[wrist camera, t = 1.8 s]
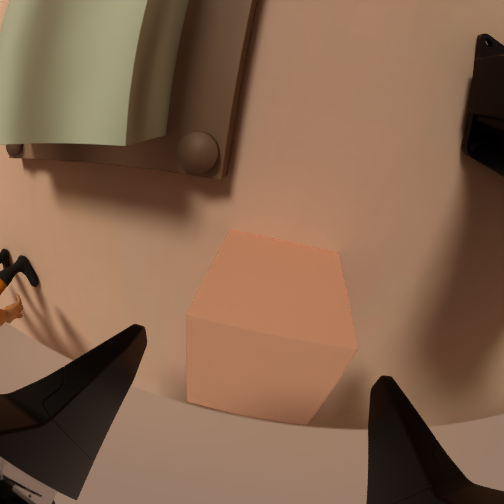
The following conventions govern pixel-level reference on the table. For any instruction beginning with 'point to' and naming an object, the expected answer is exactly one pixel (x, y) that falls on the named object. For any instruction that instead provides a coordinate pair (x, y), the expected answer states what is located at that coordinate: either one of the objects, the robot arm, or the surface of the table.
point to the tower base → (190, 103)
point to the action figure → (5, 277)
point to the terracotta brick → (269, 330)
